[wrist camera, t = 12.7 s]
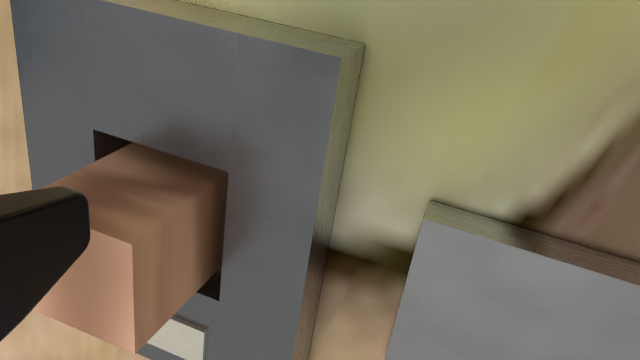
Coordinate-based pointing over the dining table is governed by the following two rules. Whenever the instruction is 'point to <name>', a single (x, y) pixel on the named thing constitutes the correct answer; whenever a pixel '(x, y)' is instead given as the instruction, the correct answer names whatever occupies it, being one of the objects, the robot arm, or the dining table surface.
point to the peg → (140, 244)
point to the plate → (204, 144)
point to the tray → (512, 295)
